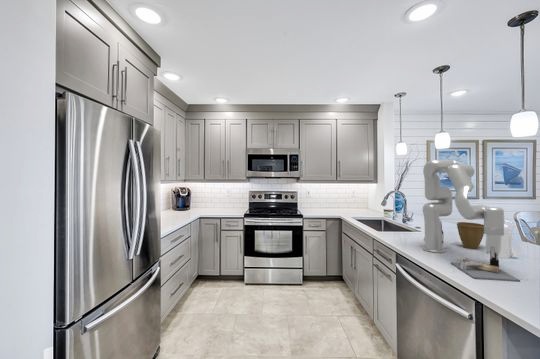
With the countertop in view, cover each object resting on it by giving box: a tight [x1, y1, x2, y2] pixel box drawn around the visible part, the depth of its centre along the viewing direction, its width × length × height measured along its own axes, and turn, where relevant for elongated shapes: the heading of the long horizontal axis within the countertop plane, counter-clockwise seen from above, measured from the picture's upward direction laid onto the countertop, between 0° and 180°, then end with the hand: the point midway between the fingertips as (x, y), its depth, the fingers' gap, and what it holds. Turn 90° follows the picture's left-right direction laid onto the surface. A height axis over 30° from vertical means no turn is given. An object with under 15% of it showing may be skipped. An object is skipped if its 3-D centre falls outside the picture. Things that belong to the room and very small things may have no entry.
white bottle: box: [498, 216, 519, 259], centre depth 140 cm, size 7×12×25 cm, turn 58°
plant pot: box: [456, 221, 485, 250], centre depth 159 cm, size 15×15×16 cm
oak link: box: [459, 257, 500, 273], centre depth 122 cm, size 15×4×3 cm, turn 39°
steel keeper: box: [459, 260, 484, 270], centre depth 121 cm, size 2×9×4 cm, turn 78°
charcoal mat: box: [450, 261, 521, 283], centre depth 120 cm, size 20×18×1 cm
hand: (494, 267), depth 120 cm, fingers closed
